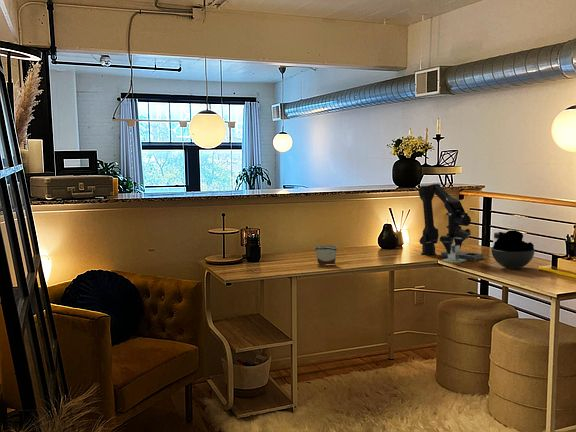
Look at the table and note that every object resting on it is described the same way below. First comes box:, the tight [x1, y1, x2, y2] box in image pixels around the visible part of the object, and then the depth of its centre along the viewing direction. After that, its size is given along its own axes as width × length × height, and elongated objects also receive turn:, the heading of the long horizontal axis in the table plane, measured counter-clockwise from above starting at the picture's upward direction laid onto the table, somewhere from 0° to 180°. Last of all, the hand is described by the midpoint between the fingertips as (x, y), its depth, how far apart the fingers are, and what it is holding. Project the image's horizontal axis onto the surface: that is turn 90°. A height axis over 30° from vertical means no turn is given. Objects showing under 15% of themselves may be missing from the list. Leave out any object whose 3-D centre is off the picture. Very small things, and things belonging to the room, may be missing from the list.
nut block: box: [448, 244, 461, 261], centre depth 303 cm, size 4×4×8 cm
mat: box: [441, 258, 467, 264], centre depth 304 cm, size 10×8×1 cm
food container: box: [314, 244, 338, 265], centre depth 304 cm, size 12×6×10 cm, turn 71°
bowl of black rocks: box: [490, 229, 536, 270], centre depth 278 cm, size 20×20×19 cm
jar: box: [492, 231, 506, 247], centre depth 317 cm, size 9×8×12 cm
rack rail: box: [440, 250, 484, 262], centre depth 311 cm, size 20×10×2 cm, turn 43°
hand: (453, 252), depth 303 cm, fingers open, 9 cm apart
